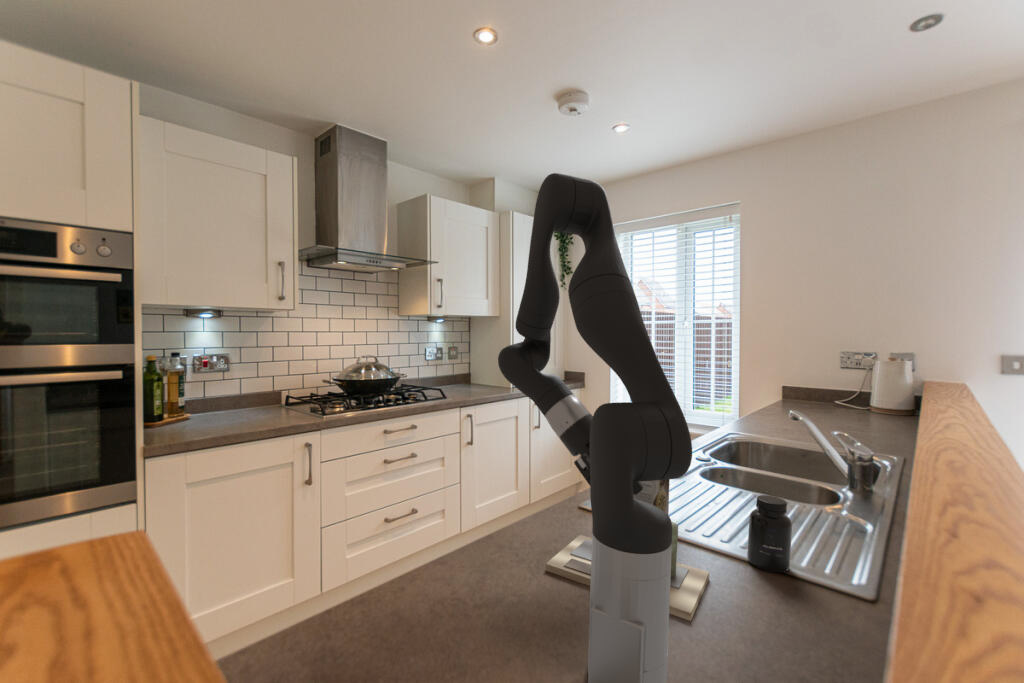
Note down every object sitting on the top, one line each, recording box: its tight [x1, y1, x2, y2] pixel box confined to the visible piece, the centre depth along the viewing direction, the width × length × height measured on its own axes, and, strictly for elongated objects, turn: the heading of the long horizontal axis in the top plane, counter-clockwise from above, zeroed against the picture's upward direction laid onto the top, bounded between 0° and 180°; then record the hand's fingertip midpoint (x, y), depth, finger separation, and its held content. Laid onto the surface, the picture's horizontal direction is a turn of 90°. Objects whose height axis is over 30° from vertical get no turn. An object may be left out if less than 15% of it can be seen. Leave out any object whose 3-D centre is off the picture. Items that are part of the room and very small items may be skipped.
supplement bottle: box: [746, 494, 793, 574], centre depth 84 cm, size 7×7×12 cm
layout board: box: [545, 534, 710, 622], centre depth 80 cm, size 14×24×1 cm, turn 57°
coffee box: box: [633, 479, 670, 516], centre depth 103 cm, size 9×6×16 cm
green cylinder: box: [670, 520, 679, 578], centre depth 78 cm, size 4×4×8 cm
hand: (631, 498), depth 81 cm, fingers open, 8 cm apart
